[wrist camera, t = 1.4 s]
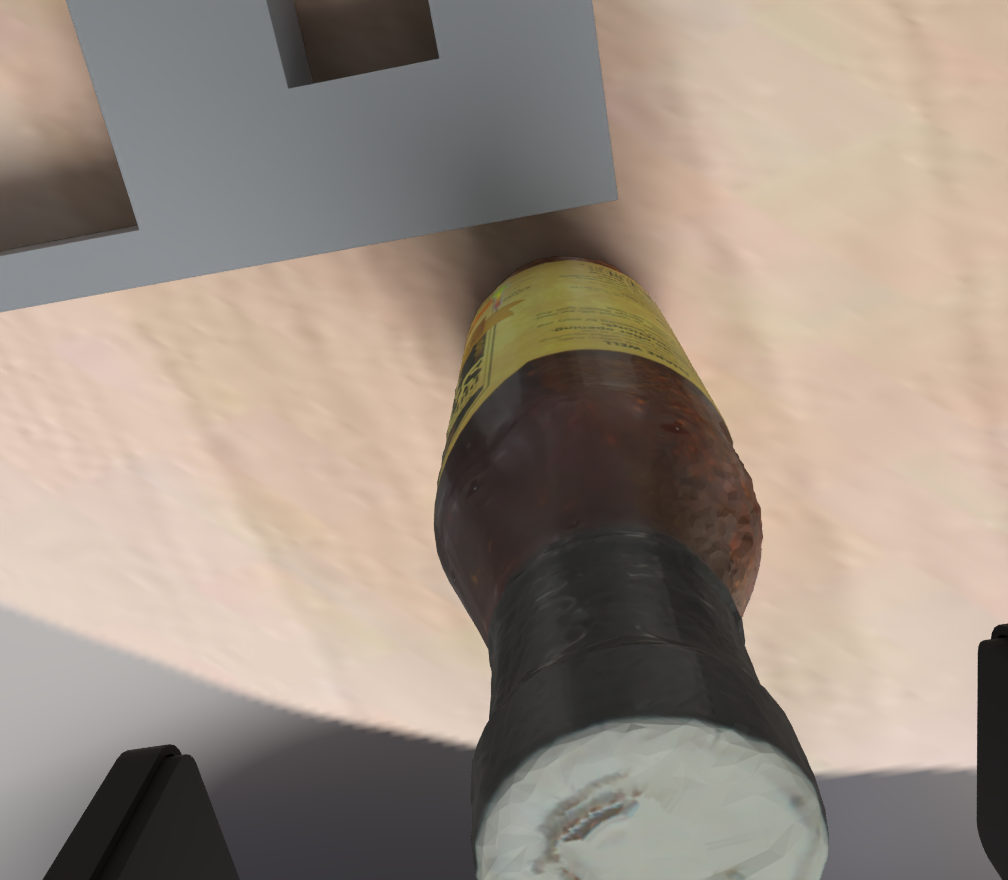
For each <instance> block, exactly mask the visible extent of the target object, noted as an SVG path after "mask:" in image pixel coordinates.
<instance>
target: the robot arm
mask: <svg viewBox="0 0 1008 880" xmlns="http://www.w3.org/2000/svg"><path fill="white" fill-rule="evenodd" d="M977 827H978V832H979V837H980V840H981V843H982V846H983V848H984V850H985V853H986V854H987V856H988V858H989V860H990V861H991V863H992V864H993V866H994V867H995V869H996V871H997V872H998V874H999V875H1000V877H1001V879H1002V880H1008V624H1002V625H998V626H996V627H995V628H994V630H993V632H992V636H991V639H990V640H983V641H982V642H980V644H979V647H978V707H977ZM43 880H240V879H239V877H238V874H237V871H236V869H235V866H234V864H233V861H232V858H231V856H230V853H229V850H228V847H227V845H226V842H225V839H224V837H223V834H222V831H221V829H220V826H219V823H218V821H217V818H216V815H215V812H214V810H213V807H212V804H211V802H210V799H209V796H208V794H207V791H206V789H205V786H204V783H203V780H202V778H201V775H200V772H199V770H198V767H197V764H196V762H195V760H194V758H193V757H191V756H190V755H187V754H186V755H182V754H181V752H180V750H179V749H178V748H177V747H176V746H175V745H162V746H155V747H148V748H141V749H134V750H128V751H126V752H123V753H122V754H121V755H120V756H119V758H118V759H117V760H116V762H115V763H114V765H113V767H112V768H111V770H110V772H109V773H108V775H107V776H106V778H105V780H104V781H103V783H102V785H101V786H100V788H99V789H98V791H97V792H96V794H95V796H94V797H93V799H92V801H91V802H90V804H89V806H88V807H87V809H86V810H85V812H84V813H83V815H82V817H81V818H80V820H79V822H78V823H77V825H76V827H75V828H74V830H73V831H72V833H71V834H70V836H69V838H68V839H67V841H66V843H65V844H64V846H63V847H62V849H61V851H60V852H59V854H58V856H57V857H56V859H55V860H54V862H53V864H52V865H51V867H50V868H49V870H48V872H47V874H46V875H45V877H44V878H43Z"/></svg>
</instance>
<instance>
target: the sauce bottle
mask: <svg viewBox="0 0 1008 880" xmlns="http://www.w3.org/2000/svg"><path fill="white" fill-rule="evenodd" d="M434 532H435V541H436V547H437V553H438V556H439V559H440V562H441V564H442V567H443V569H444V572H445V574H446V576H447V578H448V580H449V582H450V584H451V585H452V587H453V589H454V590H455V592H456V594H457V595H458V597H459V599H460V600H461V602H462V604H463V605H464V607H465V609H466V610H467V612H468V614H469V616H470V617H471V619H472V621H473V622H474V624H475V626H476V627H477V629H478V631H479V632H480V634H481V636H482V638H483V640H484V642H485V644H486V646H487V648H488V650H489V661H490V667H491V671H492V678H491V702H490V714H489V721H488V723H487V724H486V726H485V728H484V730H483V733H482V735H481V737H480V740H479V742H478V744H477V747H476V751H475V755H474V758H473V760H472V775H471V807H472V831H471V846H472V853H473V860H474V869H475V875H476V878H477V880H820V878H821V876H822V873H823V870H824V867H825V864H826V861H827V858H828V846H829V833H828V826H827V819H826V812H825V808H824V804H823V801H822V798H821V795H820V792H819V789H818V785H817V782H816V779H815V776H814V774H813V772H812V770H811V768H810V766H809V763H808V760H807V757H806V755H805V753H804V751H803V749H802V747H801V745H800V743H799V741H798V739H797V736H796V734H795V732H794V730H793V727H792V725H791V724H790V722H789V720H788V718H787V716H786V714H785V713H784V711H783V710H782V709H781V707H780V706H779V705H778V704H777V702H776V701H775V700H774V699H773V698H772V696H771V695H770V694H769V693H768V691H767V690H766V689H765V688H764V687H763V686H762V685H761V684H760V682H759V680H758V678H757V676H756V673H755V670H754V667H753V665H752V662H751V660H750V658H749V655H748V653H747V650H746V648H745V637H744V630H743V622H742V616H743V614H744V611H745V609H746V607H747V604H748V602H749V600H750V596H751V594H752V592H753V589H754V585H755V582H756V578H757V574H758V570H759V567H760V560H761V550H762V549H761V544H762V539H763V533H762V522H761V508H760V506H759V504H758V502H757V499H756V496H755V493H754V491H753V483H752V478H751V477H750V475H749V474H748V472H747V471H746V469H745V468H744V464H743V463H742V462H741V461H740V459H739V456H738V454H737V453H736V452H735V450H734V448H733V441H732V438H731V435H730V433H729V430H728V428H727V426H726V424H725V421H724V419H723V417H722V416H721V414H720V412H719V410H718V409H717V407H716V405H715V404H714V402H713V400H712V398H711V397H710V395H709V393H708V391H707V390H706V388H705V386H704V385H703V383H702V381H701V380H700V378H699V376H698V375H697V373H696V371H695V370H694V368H693V366H692V364H691V363H690V361H689V359H688V357H687V355H686V353H685V352H684V350H683V348H682V347H681V345H680V343H679V341H678V340H677V338H676V336H675V334H674V333H673V331H672V329H671V328H670V326H669V324H668V323H667V321H666V319H665V318H664V316H663V314H662V313H661V311H660V310H659V308H658V307H657V305H656V304H655V303H654V301H653V300H652V299H651V297H650V296H649V295H648V293H647V292H646V291H645V290H644V289H643V288H642V287H641V286H640V285H639V284H638V283H637V282H636V281H634V280H633V279H631V278H630V277H628V276H626V275H624V274H623V273H621V272H620V271H619V270H618V269H617V268H616V267H614V266H612V265H609V264H607V263H605V262H603V261H601V260H591V259H588V258H578V257H567V256H566V257H551V258H543V259H538V260H536V261H534V262H532V263H529V264H527V265H525V266H522V267H520V268H518V269H517V270H516V271H515V272H514V273H512V274H511V275H510V276H509V277H508V278H506V279H505V280H504V281H503V282H502V284H501V285H500V286H498V287H497V289H496V290H495V291H494V292H493V293H492V294H491V295H490V296H488V297H487V299H486V300H485V301H484V302H483V304H482V305H481V306H480V308H479V309H478V311H477V313H476V315H475V317H474V319H473V322H472V324H471V327H470V329H469V332H468V336H467V339H466V344H465V350H464V355H463V360H462V364H461V370H460V375H459V380H458V384H457V387H456V389H455V399H454V403H453V409H452V413H451V418H450V421H449V427H448V430H447V441H446V446H445V449H444V452H443V456H442V465H441V469H440V472H439V477H438V481H437V494H436V500H435V510H434Z"/></svg>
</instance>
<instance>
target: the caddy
mask: <svg viewBox="0 0 1008 880" xmlns="http://www.w3.org/2000/svg"><path fill="white" fill-rule="evenodd" d="M66 2H67V5H68V8H69V11H70V15H71V18H72V21H73V24H74V27H75V30H76V33H77V37H78V40H79V43H80V46H81V49H82V52H83V55H84V58H85V62H86V65H87V68H88V71H89V74H90V77H91V80H92V83H93V87H94V90H95V93H96V96H97V99H98V102H99V105H100V108H101V112H102V115H103V118H104V121H105V124H106V127H107V130H108V133H109V137H110V140H111V143H112V146H113V149H114V152H115V155H116V158H117V162H118V165H119V168H120V171H121V174H122V177H123V180H124V183H125V187H126V190H127V193H128V196H129V199H130V202H131V205H132V208H133V212H134V215H135V218H136V221H137V224H138V225H137V226H132V227H126V228H121V229H116V230H110V231H105V232H100V233H94V234H89V235H84V236H79V237H73V238H68V239H63V240H57V241H52V242H47V243H42V244H36V245H31V246H26V247H20V248H15V249H10V250H5V251H0V312H4V311H10V310H15V309H21V308H26V307H32V306H37V305H43V304H48V303H54V302H59V301H65V300H70V299H76V298H81V297H87V296H92V295H98V294H103V293H109V292H114V291H120V290H125V289H131V288H136V287H142V286H147V285H153V284H158V283H164V282H169V281H175V280H180V279H186V278H191V277H196V276H202V275H207V274H213V273H218V272H224V271H229V270H235V269H240V268H246V267H251V266H257V265H262V264H268V263H273V262H279V261H284V260H290V259H295V258H301V257H306V256H312V255H317V254H323V253H328V252H334V251H339V250H345V249H350V248H356V247H361V246H367V245H372V244H378V243H383V242H389V241H394V240H400V239H405V238H411V237H416V236H422V235H427V234H432V233H438V232H443V231H449V230H454V229H460V228H465V227H471V226H476V225H482V224H487V223H493V222H498V221H504V220H509V219H515V218H520V217H526V216H531V215H537V214H542V213H548V212H553V211H559V210H564V209H570V208H575V207H581V206H586V205H592V204H597V203H603V202H608V201H614V200H618V195H617V187H616V180H615V172H614V165H613V157H612V149H611V142H610V134H609V127H608V119H607V111H606V104H605V96H604V89H603V81H602V73H601V66H600V58H599V51H598V43H597V35H596V28H595V20H594V13H593V5H592V0H428V2H429V7H430V12H431V17H432V23H433V28H434V33H435V39H436V44H437V49H438V54H439V59H434V60H429V61H424V62H419V63H414V64H409V65H404V66H399V67H394V68H389V69H384V70H379V71H374V72H369V73H364V74H359V75H354V76H349V77H344V78H339V79H334V80H329V81H324V82H319V83H314V84H313V80H312V76H311V72H310V68H309V64H308V59H307V55H306V51H305V47H304V43H303V38H302V34H301V30H300V26H299V22H298V17H297V13H296V9H295V5H294V1H293V0H66Z"/></svg>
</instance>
